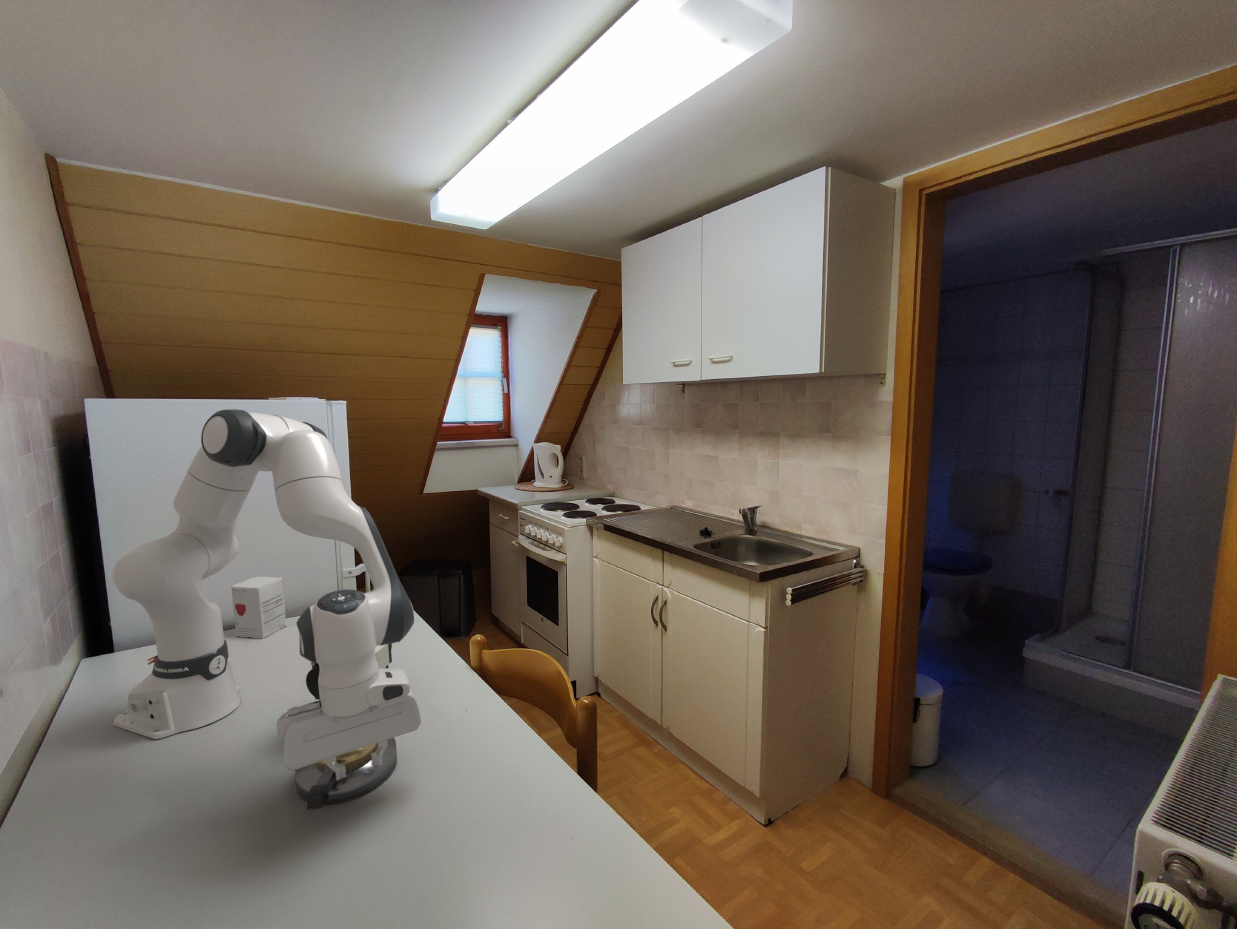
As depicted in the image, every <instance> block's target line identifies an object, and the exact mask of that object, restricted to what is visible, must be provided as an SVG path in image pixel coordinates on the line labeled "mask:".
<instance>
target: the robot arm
mask: <svg viewBox="0 0 1237 929" xmlns="http://www.w3.org/2000/svg"><path fill="white" fill-rule="evenodd" d="M200 436H201V437H200V438H201V439H200V443H201V446H200V448H199V449H198V451H197V452H196V454H195V456H194V458H193V460H192V461H191V464H190V466H189V467H188V469H187V470H186V474H185V475H184V477H183V480H182V482H181V484H180V485H179V488H178V490H177V492H176V494H175V497H173V498H174V499H173V502H172V503H173V508H174V510H175V512H176V513H177V514H178V515H179V517H178V523H177V526H176V527H175V529H174V530H173V531H172V532H171V533H170V534H169V535H167V536H164V537H161V538H158V539H154V540H152V541H149V542H146V543H142V544H141V545H138V546H137V547H135V548H134V549H132V550H130V551H129V552H127V553H126V554H125V555H123V556H122V557H120V558H119V559H118V560H117V561H116V563H115V564H114V567H113V570H112V582H113V584H114V586H115V588H116V589H117V591H118V592H119V593H120V594H121V595H122V596H124V597H125V598H128V599H129V600H132V601H135V602H137V603H138V604H140V605H141V606H142V608H143V609H144V610H145V612H146V613H147V615H148V617H149V619H150V621H151V623H152V628H153V633H154V640H155V646H156V651H157V652H156V654H157V655H154V656H152V657H151V658H148V659H147V660H146V661H147V662H148V661H149V662H148V663H147V665H152V664H153V668H152V671H151V673H150V674H148V675H147V676H146V677H145V678H144V679H143V680H142V681H141V682H140V683H138V684H137V685H135V687H133V688H132V689H131V691H129V693H128V695H127V708H126V710H123V711H122V712H120V714H118V715H117V716H116V717H115V718H114V719H113V726H114V727H117V728H120V729H123V730H127V731H130V732H132V733H135V734H137V735H138V734H139V735H142V736H144V737H147V738H151V739H154V740H159V739H164V738H166V737H169V736H172V735H175V734H177V733H181V732H186V731H190V730H196V729H198V728H201V727H205V726H207V725H209V724H212V723H214V722H217V721H219V720H220V719H222V718H224V717H226V716H228V715H229V714H231V713H232V712H233V711H234V710H236V709H237V708H238V707H239V705H240V703H241V698H240V695H239V692H240V686H239V685H238V684H236V681H235V678H234V672H233V668H232V664H231V661H230V659H229V646H228V642H227V640H226V639H225V636H224V627H223V619H222V618H223V617H222V611H221V607H219V606H220V605H218V604H217V603H215V602H213V601H210V600H208V599H206V597H205V595H204V593H203V590H202V588H201V581H202V580H205V579H208V578H209V577H211V576H213V575H216V574H217V573H219V572H220V571H222V570H223V569H224V568H225V567H227V566H228V565H229V564H230V563H231V562H232V561H233V560H235V559H236V556H237V554H238V551H239V542H238V539H237V537H236V535H235V528H236V523H237V519H238V517H239V514H240V512H241V510H242V508H243V506H244V503H245V502H246V499H247V497H248V495H249V493H250V491H251V489H252V488H253V485H254V483H255V481H256V478H257V475H258V473H259V472H266V473H267V472H271V474H272V477H273V486H274V494H275V495H274V496H275V500H276V505H277V508H278V511H279V514H280V517H281V519H282V521H283V522H284V523H285V524H286V525H287V526H288V527H290V528H291V529H292V530H294V531H296V532H298V533H301V534H302V535H306V536H309V537H315V538H319V539H326V540H327V539H328V540H332V541H333V540H334V541H338V542H341V543H345V544H347V545H350V546H351V547H353V548H354V549H355V550H356V551H357V552H358V553H359V555H360V557H361V560H362V562H363V564H364V568H365V569H366V572H367V575H368V577H369V579H370V581H371V584H372V586H373V589H372V590H371V591H367V592H363V591H359V590H357V589H339V590H334V591H331V592H329V593H326V594H324V595H322V596H321V597H320V598H319V599H317V601H316V602H315V604H313V605H310V606H308V607H307V608H306V609H305V610H304V611H303V612H302V614H301V615H300V616H299V618H298V619H297V621H296V622H295V623H296V626H297V629H298V632H299V633H298V635H299V655H300V656H301V657H302V658H304V659H306V660H307V661H309V662H310V663H311V662H313V663H315V664H316V663H318V664H319V667H320V673H319V678H318V685H319V694H320V700H316V701H313V702H308V703H307V704H304V705H300V706H298V707H297V706H295V707H291V708H288V709H287V710H286V712H285V713H283V714H281V716H280V717H278V719H277V722H276V727H277V734H278V736H279V737H281V738H282V739H283V765H284V766H283V767H284V768H285V769H287V770H288V771H295V770H296V769H299V768H302V767H305V766H308V765H311V764H314V763H317V762H320V761H323V760H326V762H327V766H329V767H330V768H331V769H332V770H333V771H334V772H335V773H336V781H338V780H341V779H343V778H346V768H345V763H342V764H338V763H337V761H336V756H339V755H342V754H345V753H348V752H351V751H354V750H357V749H360V748H363V747H366V746H369V745H372V744H375V743H378V748H377V750H376V752H374V753H372V754H371V759H372V760H371V761H372V766H373V768H375V767H378V766H381V765H382V756H383V753H384V751H385V749H386V747H387V745H388V742H387V740H388V739H391V738H394V739H395V738H396V737H399V736H402V735H405V734H408V733H412V732H414V731H418V728H419V727H420V725H421V724H422V719H421V713H420V708H419V704H418V702H417V699H416V696H415V694H414V692H413V690H412V688H411V685H410V680H409V677H408V675H407V673H406V672H405V671H404V670H403V669H401V668H379V667H378V663H377V661H376V659H375V648H376V646H378V645H380V646H381V645H386V644H391V643H392V644H395V643H400V642H401V641H402V640H403V639H404V638H405V637H406V636H407V635H408V633H409V632H410V631H411V629H412V628H413V625H414V623H415V613H414V612H415V611H414V607H413V604H412V602H411V600H410V598H409V596H408V594H407V591H406V590H405V588H404V586H403V584H402V583H401V581H400V578H399V577H398V574H397V571H396V569H395V567H394V565H393V562H392V560H391V557H390V555H389V553H388V550H387V547H386V545H385V543H384V541H383V538H382V535H381V534H380V531H379V529H378V527H377V524H376V523H375V520H374V519H373V517H372V515H371V513H370V511H368V509H367V508H366V507H363V506H360V505H357V504H356V503H355V502H354V501H353V500H352V498H351V497H350V496H349V494H348V493H347V491H346V489H345V487H344V483H343V478H342V477H343V476H342V474H341V470H340V466H339V462H338V459H337V457H336V455H335V452H334V449H333V447H332V445H331V442H330V441H329V439H328V437H327V434H326V433H325V432H324V430H322V429H321V428H320V427H318V426H315V425H314V424H312V423H310V422H306V421H299V420H296V419H294V418H293V419H292V418H290V417H286V416H282V415H277V414H268V413H267V414H266V413H261V412H252V411H250V412H249V411H247V410H243V409H236V408H234V409H232V408H231V409H221V410H218V411H216V412H214V413H213V414H212V415H210V417H209V418H208V419H207V420H206V421H205V423H204V425H203V426H202V431H201V435H200Z"/></svg>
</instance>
